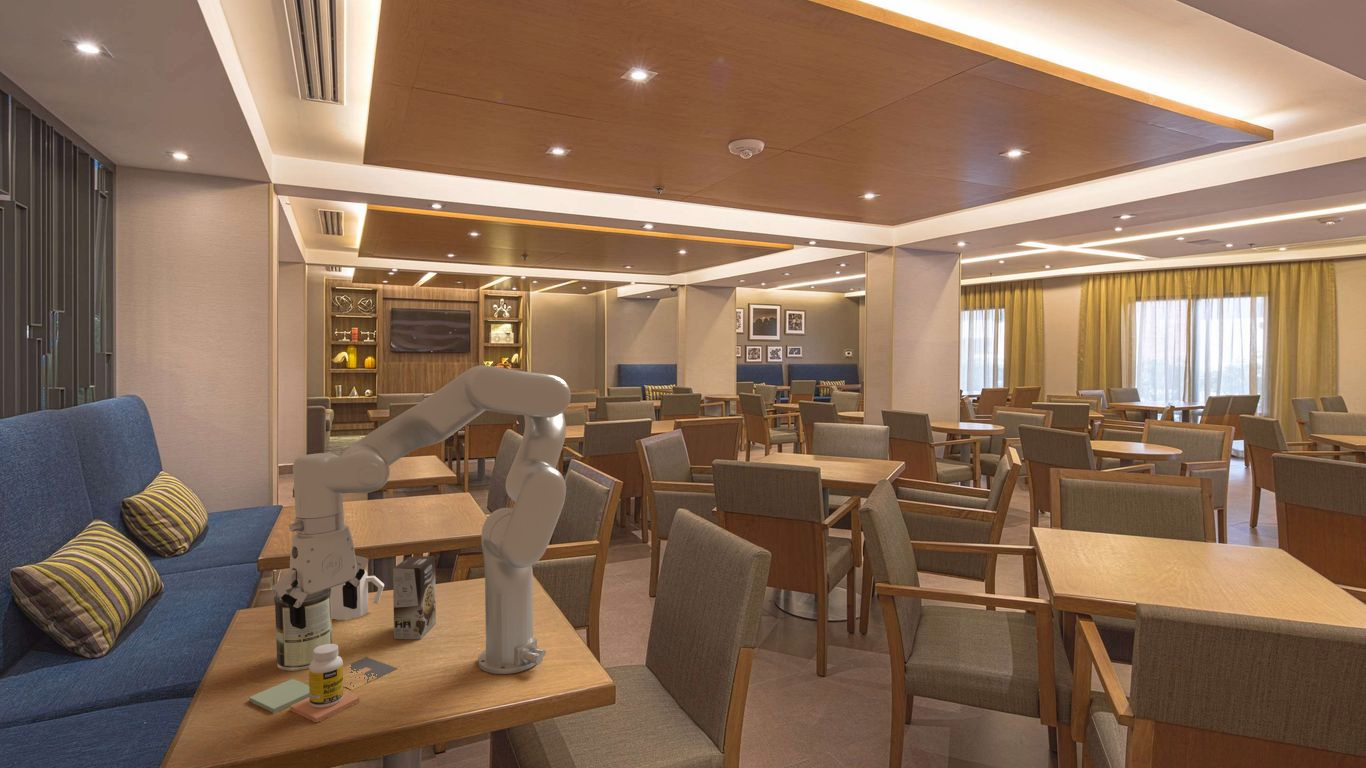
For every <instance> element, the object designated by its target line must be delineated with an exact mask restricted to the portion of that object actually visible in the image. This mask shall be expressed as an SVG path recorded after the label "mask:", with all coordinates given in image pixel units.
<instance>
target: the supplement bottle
mask: <svg viewBox="0 0 1366 768" xmlns="http://www.w3.org/2000/svg"><path fill="white" fill-rule="evenodd" d="M313 657H314V659H315V660H313V661H312V662H311V663H310V666H309V669H308V674H309V675H308V678H309V680H308V681H309V682H308V683H309V684H308V685H309V695H310V705H311V706H313V707H316V708H324V707H329V706H332V705H334V704H336V703H338V702H339V701H341V699H342V698H343V691H344V687H343V667H344V662H343V658H342V657H341V656H340V655H339V646H338V644H335V643H332V644H325V645H321V646H318V647H316V648H315V649H314V651H313Z"/></svg>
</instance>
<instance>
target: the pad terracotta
mask: <svg viewBox="0 0 1366 768" xmlns="http://www.w3.org/2000/svg"><path fill="white" fill-rule="evenodd" d="M356 702H358V703H359V702H360V698H359V697H358V696H356V695H354V694H351V693H349V692H346V691H344V690H343V698H342V699H341V701H339V702H338V703H336V704H334V705H332V706H329V707H324V708H316V707H313V706H311V705H310V697H309V698H306V699H304V700H302V701H300V702H298V703H296V704H293V705H291V706H289V711H291V712H293V713H294V714H297V715H299V716H301V717H304V718H305V717H306V719H307V720H310V719H311V720H310V721H312V720H313V721H312V722H314V721H315V722H314V723H316V722H318V723H319V721H320V720H322V721H324V720H326V719H327V718H326V717H328V718H330V717H332V716H334V715H335V714H334V713H336V714H338V713H340V712H341V711H340V710H342V709H344V708H346V707H348V706H350V707H352V706H353V705H352V704H354V705H356V704H357V703H356ZM355 703H356V704H355ZM351 705H352V706H351ZM348 708H349V707H348ZM346 709H347V708H346ZM344 710H345V709H344ZM339 711H340V712H339ZM342 711H343V710H342ZM337 712H338V713H337ZM333 714H334V715H333ZM331 715H332V716H331ZM329 716H330V717H329ZM325 718H326V719H325ZM323 719H324V720H323ZM320 722H321V721H320Z"/></svg>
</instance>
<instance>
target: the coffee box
mask: <svg viewBox="0 0 1366 768" xmlns="http://www.w3.org/2000/svg"><path fill="white" fill-rule="evenodd" d="M392 572H393V573H392V575H393V576H392V579H393V580H392V583H393V584H392V587H393V589H392V590H393V593H392V594H393V596H392V597H393V598H392V599H393V639H394V640H395V639H396V640H398V639H399V640H421V639H422V638H424V636H426V634H427V633H429V631H431V630H432V628H434V626H435V625H436V624H437V600H436V599H437V594H436V556H434V555H433V556H431V555H427V556H425V555H424V556H423V555H422V556H420V555H419V556H408V557H407V558H406V559H404V560H403V561H401V562H399V563H398V564H397V565H396V566H394V567H393V568H392Z"/></svg>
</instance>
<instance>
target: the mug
mask: <svg viewBox="0 0 1366 768" xmlns="http://www.w3.org/2000/svg"><path fill="white" fill-rule="evenodd" d="M368 583H373V584H374V586H376V587H377V592H376V594H375V597H374V600H373V601H372V603H373V604H375V605H378V604H379V602H380V599H381V597H382V593H383V591H384V588H385V583H384V582H382V581H381V580H380V579H379V578H378V577H376V575H368V571H367V570H366V569H365V574H364V575H363V577H362V578H361V580H360V585H359V586H358V587H357V599H358V600H357V608H356V609H351V608H347V607H344V606H343V590H342V588H343V585H345V583H343V584H340V585H337V586H335V587H332V588H331V620H333V619H337V620H336V621H344V620H345V621H348V620H347V619H350V620H353V619H352V618H355V619H357V617H359V618H362V617H363V616H364V615H366V614H368V613H369V594H368V593H369V591H368V589H369V586H368ZM361 616H362V617H361Z"/></svg>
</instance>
